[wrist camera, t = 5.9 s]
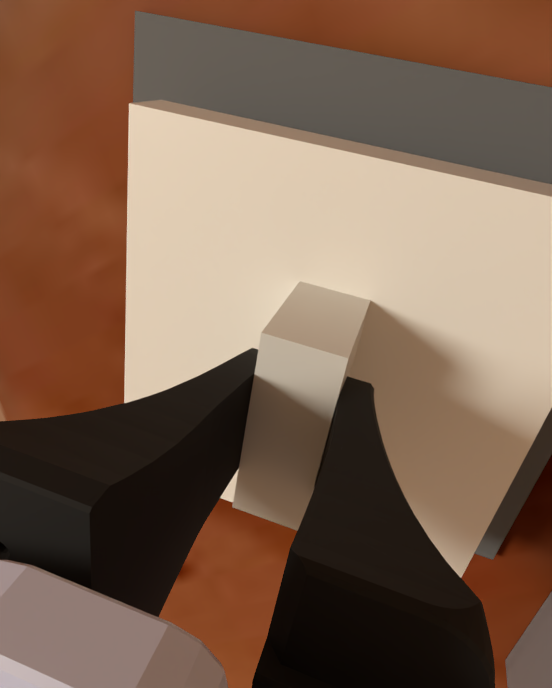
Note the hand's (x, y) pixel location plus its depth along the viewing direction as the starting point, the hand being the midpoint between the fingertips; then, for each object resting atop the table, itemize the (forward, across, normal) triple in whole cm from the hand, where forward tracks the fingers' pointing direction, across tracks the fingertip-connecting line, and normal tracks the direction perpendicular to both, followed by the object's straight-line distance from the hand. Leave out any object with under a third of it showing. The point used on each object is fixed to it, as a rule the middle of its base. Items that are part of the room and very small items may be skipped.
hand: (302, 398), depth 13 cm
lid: (+3, 0, 0) cm, 3 cm away
